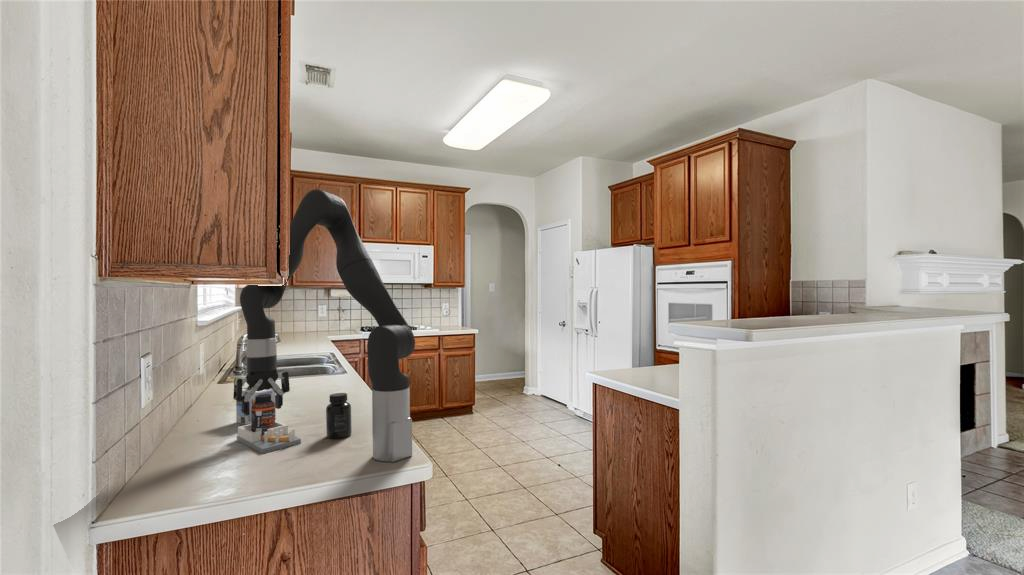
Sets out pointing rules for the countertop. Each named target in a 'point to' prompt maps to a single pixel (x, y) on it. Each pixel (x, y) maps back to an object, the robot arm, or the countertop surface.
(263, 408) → the supplement bottle
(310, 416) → the countertop surface
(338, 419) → the supplement bottle
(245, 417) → the light bulb box
